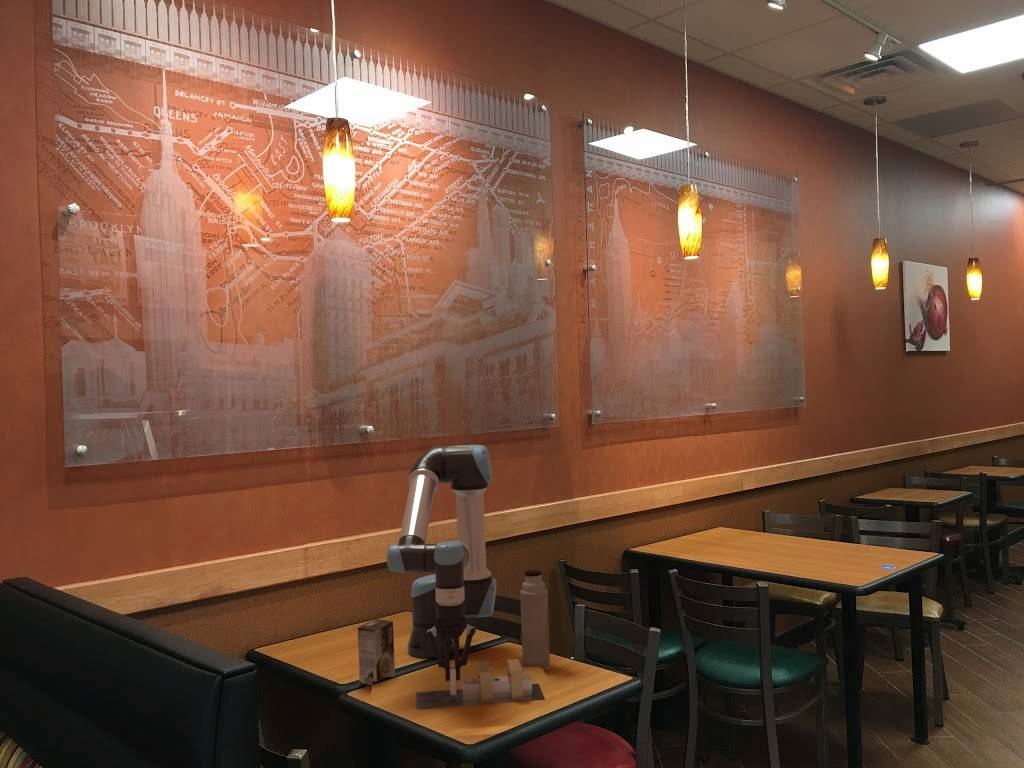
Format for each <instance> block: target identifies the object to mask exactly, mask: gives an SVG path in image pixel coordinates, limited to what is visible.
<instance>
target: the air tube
mask: <svg viewBox="0 0 1024 768" xmlns="http://www.w3.org/2000/svg"><path fill="white" fill-rule="evenodd" d="M532 684H533V680H532V677H531V675H530V674H525V675H524V674H523V696H528V695H532ZM461 685H462V687H461V689H462V691H463V700H474V699H481V698H480V678H478V677H476V678H465V679H463V678H462V680H461ZM492 696H493V698H501V697H511V676H508V675H507V676H494V677H493V676H492Z"/></svg>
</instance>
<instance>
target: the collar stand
mask: <svg viewBox="0 0 1024 768" xmlns="http://www.w3.org/2000/svg"><path fill="white" fill-rule="evenodd" d="M506 663H507V664H506V665H507V676H511V697H501V698H493V696H492V677H493V671H492V668H491V665H490V661H489V660H487V661H485V660H483V661H477V678H480V698H481V699H474V700H463V691H462V688H461V689H457V688H456V695H451V694H450V689H447V690H446V689H445V690H444V689H443V690H435V691H434V690H433V691H432V690H431V691H420V692H416V693H415V694H416V695H415V697H416V700H415V703H416V711H417V710H418V711H419V710H428V709H429V710H430V709H444V708H456V707H469V706H470V707H471V706H482V705H483V706H484V705H497V704H508V703H509V704H510V703H521V702H522V703H523V702H537V701H545V700H546V698H545V695H544V693H543V691H542V688H541V686H540V684H539V683H532V695H528V696H523V675H524V674H523V670H524V669H523V666H521V665H522V664H521V663H520V660H519V659H518V658H514V659H507V661H506Z"/></svg>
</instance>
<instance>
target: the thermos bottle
mask: <svg viewBox="0 0 1024 768" xmlns="http://www.w3.org/2000/svg"><path fill="white" fill-rule="evenodd" d="M524 575H525V576H524V578H525V579H524V580H525V581H523V582H522V586H521V588H522V589H521V590H520V591H519V592H520V595H519V597H520V619H521V620H520V622H521V626H520V627H521V629H520V630H521V654H522V657H521V658H522V659H521V660H522V668H533V667H534V668H535V667H541V668H542V670H543V671H545V670H544V669H547V668H548V667H549V666H551V663H550V662H551V661H550V657H551V656H550V633H549V632H550V630H549V629H550V627H549V602H548V601H549V600H548V599H549V597H548V594H549V593H548V589H546V582H544V580H542V579H543V577H542V571H541V570H538V569H537V570H536V569H534V570H533V569H532V570H531V569H530V570H526V571H524ZM549 668H550V667H549ZM549 668H548V669H549ZM548 669H547V670H548Z"/></svg>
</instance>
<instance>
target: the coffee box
mask: <svg viewBox="0 0 1024 768" xmlns="http://www.w3.org/2000/svg"><path fill="white" fill-rule="evenodd" d="M357 642H358V646H357V647H358V669H359V670H358V671H359V675H358V678H359V679H358V681H359V683H360V682H362V683H365V684H368V685H372V686H373V683H374V682H375V683H376V682H377V683H378V682H380V681H381V680H383V679H385V678H391V677H392V678H393V677H396V669H395V668H396V666H395V665H396V663H395V660H396V659H395V636H394V621H391V620H386V619H379V618H378V619H377V618H376V619H373V620H371V621H369V622H366V623H365V624H363V625H361V626H359V627H357ZM368 685H367V686H368Z"/></svg>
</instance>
